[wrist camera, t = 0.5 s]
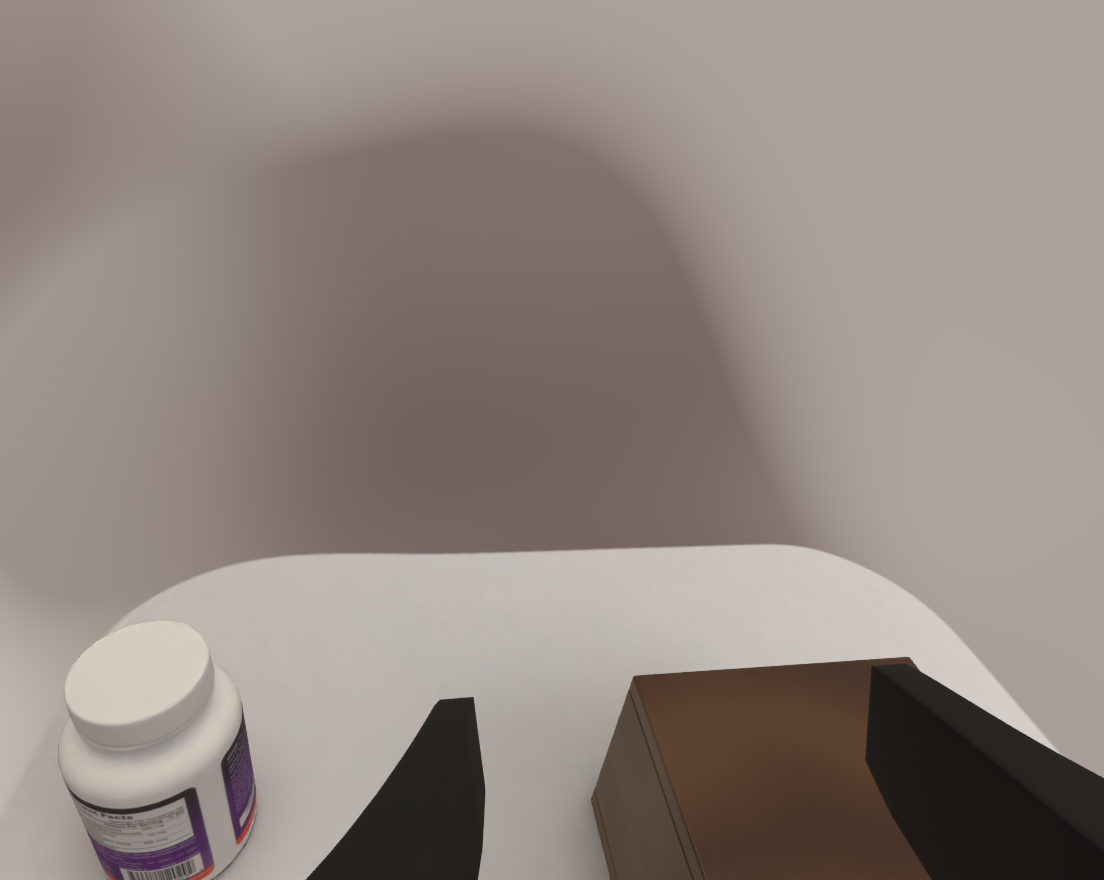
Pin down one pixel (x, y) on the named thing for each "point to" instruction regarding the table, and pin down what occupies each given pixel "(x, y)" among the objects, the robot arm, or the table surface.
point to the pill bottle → (157, 754)
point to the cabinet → (748, 779)
